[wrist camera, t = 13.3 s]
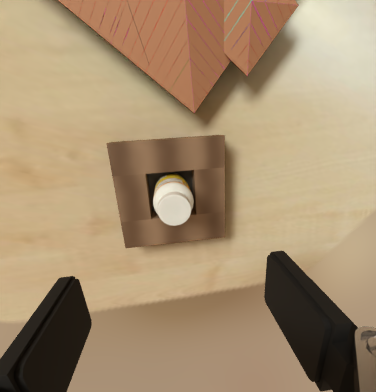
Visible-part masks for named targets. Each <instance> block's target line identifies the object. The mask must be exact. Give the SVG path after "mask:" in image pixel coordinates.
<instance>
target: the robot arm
mask: <svg viewBox="0 0 376 392" xmlns="http://www.w3.org/2000/svg"><path fill="white" fill-rule="evenodd" d="M265 302H266V304H267V306H268V307H269V309H270V311H271V313H272V315H273V316H274V318H275V320H276V322H277V323H278V325H279V327H280V329H281V330H282V332H283V334H284V336H285V337H286V339H287V341H288V343H289V345H290V346H291V348H292V350H293V352H294V353H295V355H296V357H297V358H298V360H299V362H300V364H301V366H302V367H303V369H304V371H305V372H306V374H307V376H308V378H309V379H310V380H311V381H312V382H314V381H315V383H316V385H317V387H318V388H319V390H320V391H326V390H333V392H376V328H374V327H367V326H363V327H359V328H358V327H357V326H356V325H355V324H354V323H353V322H352V321H351V320H350V319H349V318H348V317H347V316H346V315H345V314H344V313H343V312H342V311H341V310H340V309H339V308H338V307H337V305H336V304H335V303H333V301H332V300H331V299H330V298H329V297H328V296H327V295H326V294H325V293H324V292H323V291H322V290H321V289H320V288H319V287H318V286H317V285H316V284H315V283H314V282H313V280H311V279H310V278H309V277H308V276H307V275H306V274H305V273H304V272H303V271H302V270H301V269H300V268H299V266H298V265H297V264H296V263H295V262H294V261H293V260H292V259H291V258H290V257H289V256H288V255H287V254H286V253H285V252H284V251H276V252H271V253H270V255H268V257H267V268H266V282H265ZM90 329H91V318H90V314H89V311H88V308H87V305H86V301H85V298H84V295H83V291H82V288H81V285H80V282H79V280H78V279H75V277H74V276H70V277H62V278H59V279H58V280H57V282H56V283H55V284H54V286H53V287H52V289H51V290H50V291H49V293H48V294H47V295H46V297H45V298H44V300H43V301H42V302H41V304H40V305H39V306H38V308H37V309H36V311H35V312H34V313H33V315H32V316H31V318H30V319H29V320H28V322H27V323H26V324H25V326H24V327H23V329H22V330H21V332H20V333H19V334H18V335H17V337H16V338H15V340H14V341H13V342H12V344H11V345H10V347H9V348H8V349H7V351H6V352H5V353H4V355H3V356H2V358H1V359H0V392H67V389H68V386H69V384H70V381H71V379H72V376H73V373H74V371H75V368H76V365H77V363H78V360H79V358H80V355H81V352H82V350H83V347H84V345H85V342H86V339H87V337H88V334H89V332H90Z"/></svg>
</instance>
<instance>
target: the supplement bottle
mask: <svg viewBox="0 0 376 392" xmlns="http://www.w3.org/2000/svg"><path fill="white" fill-rule="evenodd" d="M193 204H194V200H193V195H192V193H191V190H190V188H189V186H188V184H187V182H186V180H185V179H184V178H183V177H182V176H181V175H179V174H177V173H167V174H165V175H163V176H161V177H160V178H159V179H158V181H157V183H156V186H155V192H154V197H153V206H154V209H155V211H156V213H157V214H158V215H159V217H160V219H161V220H162V221H163V222H164V223H166V224H168V225H171V226H177V225H180V224H183V223H184V222H186V221H187V220H188V218H189V217H190V214H191V210H192V208H193Z"/></svg>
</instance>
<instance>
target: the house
mask: <svg viewBox="0 0 376 392" xmlns="http://www.w3.org/2000/svg"><path fill="white" fill-rule="evenodd" d="M58 1H60V2H61V3H62V4H63V5H64V6H66V7H67V8H68V9H69V10H70V11H72V12H73V13H74V14H75V15H76V16H78V17H79V18H80V19H81V20H82V21H84V22H85V23H86V24H87V25H89V26H90V27H91V28H92V29H93V30H95V31H96V32H97V33H98V34H99V35H101V36H102V37H103V38H104V39H105V40H107V41H108V42H109V43H110V44H111V45H113V46H114V47H115V48H116V49H117V50H119V51H120V52H121V53H122V54H123V55H125V56H126V57H127V58H128V59H129V60H131V61H132V62H133V63H134V64H135V65H137V66H138V67H139V68H140V69H142V70H143V71H144V72H145V73H146V74H148V75H149V76H150V77H151V78H152V79H154V80H155V81H156V82H157V83H158V84H160V85H161V86H162V87H163V88H164V89H166V90H167V91H168V92H169V93H170V94H172V95H173V96H174V97H175V98H176V99H178V100H179V101H180V102H181V103H182V104H184V105H185V106H186V107H187V108H188V109H190V110H191V111H192V112H193V113H195V111H196V110H197V109H198V107H199V106H200V104H201V103H202V101H203V100H204V99H205V97H206V96H207V94H208V93H209V91H210V90H211V89H212V87H213V86H214V84H215V83H216V81H217V80H218V79H219V77H220V76H221V74H222V73H223V71H224V70H225V68H226V67H227V66H228V64H229V63H230V61H232V62H233V63H234V64H235V65H236V66H237V67H238V68H239V69H240V70H241V71H242V72H243V73H244V74H245V75H246V76H247V75H248V74H249V73H250V71H251V70H252V68H253V67H254V66H255V64H256V63H257V62H258V60H259V59H260V57H261V56H262V55H263V53H264V52H265V51H266V49H267V48H268V46H269V45H270V44H271V42H272V41H273V40H274V38H275V37H276V35H277V34H278V33H279V31H280V30H281V29H282V27H283V26H284V24H285V23H286V22H287V20H288V19H289V18H290V16H291V15H292V13H293V12H294V11H295V9H296V8H297V7H298V4H297V3H296V1H295V0H58Z"/></svg>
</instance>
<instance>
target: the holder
mask: <svg viewBox="0 0 376 392" xmlns="http://www.w3.org/2000/svg"><path fill="white" fill-rule="evenodd" d="M107 148H108V154H109V159H110V165H111V170H112V176H113V181H114V187H115V192H116V198H117V203H118V209H119V214H120V220H121V225H122V231H123V236H124V242H125V247H126V248H132V247H141V246H150V245H159V244H168V243H176V242H185V241H194V240H203V239H212V238H221V237H225V135H212V136H197V137H182V138H167V139H152V140H137V141H122V142H111V143H107ZM167 173H177V174H179V175H181V176H182V177H183V178H184V179H185V180H186V182H187V184H188V186H189V188H190V190H191V193H192V195H193V200H194V204H193V208H192V210H191V214H190V217H189V218H188V220H187V221H186V222H184V223H183V224H180V225H177V226H171V225H168V224H166V223H164V222H163V221H162V220H161V219H160V217H159V215H158V214H157V213H156V211H155V209H154V206H153V197H154V192H155V186H156V183H157V181H158V179H159V178H160V177H161V176H163V175H165V174H167Z"/></svg>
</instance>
